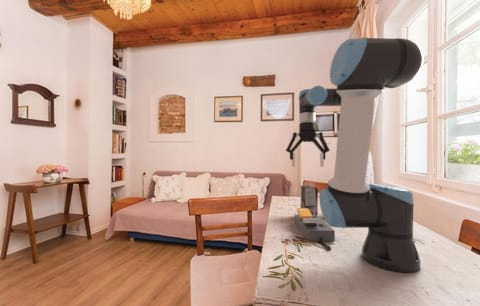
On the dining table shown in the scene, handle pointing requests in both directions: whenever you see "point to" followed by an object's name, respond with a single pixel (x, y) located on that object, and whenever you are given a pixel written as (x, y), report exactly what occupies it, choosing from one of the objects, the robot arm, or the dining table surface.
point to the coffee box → (309, 198)
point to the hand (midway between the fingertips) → (307, 166)
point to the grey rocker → (311, 220)
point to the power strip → (316, 231)
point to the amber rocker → (304, 213)
